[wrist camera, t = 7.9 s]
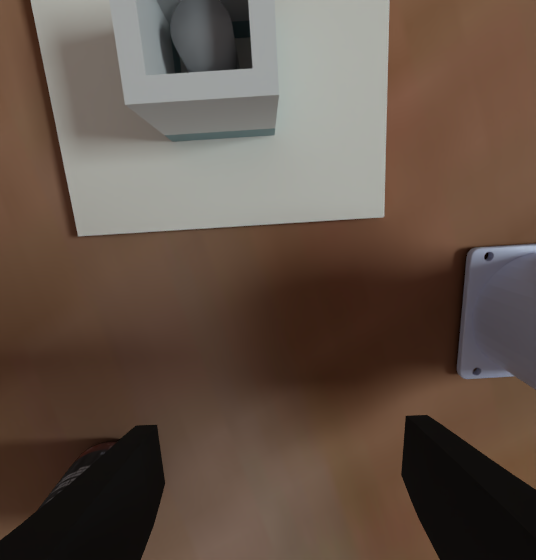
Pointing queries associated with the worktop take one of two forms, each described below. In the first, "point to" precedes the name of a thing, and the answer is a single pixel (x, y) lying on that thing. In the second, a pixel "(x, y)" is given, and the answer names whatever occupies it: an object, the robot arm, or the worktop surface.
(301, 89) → the pin board
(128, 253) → the worktop surface
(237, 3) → the sleeve
